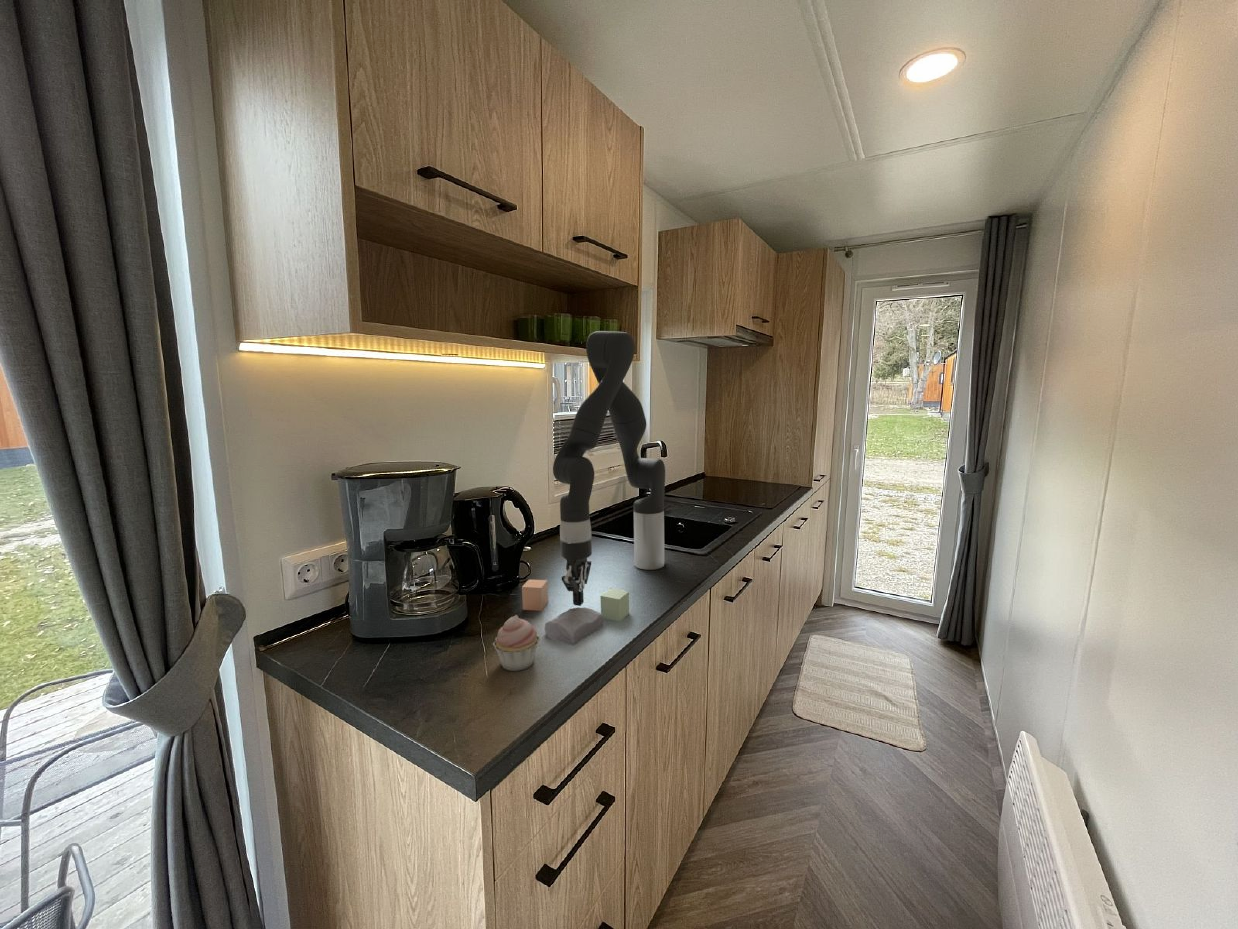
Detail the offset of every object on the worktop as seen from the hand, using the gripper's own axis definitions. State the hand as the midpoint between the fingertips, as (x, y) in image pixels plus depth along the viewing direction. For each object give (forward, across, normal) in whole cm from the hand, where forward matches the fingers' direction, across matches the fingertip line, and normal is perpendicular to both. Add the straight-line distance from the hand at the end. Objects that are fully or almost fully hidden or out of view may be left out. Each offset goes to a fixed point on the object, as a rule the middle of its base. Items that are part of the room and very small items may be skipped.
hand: (578, 604), depth 124 cm
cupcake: (+1, +27, -1) cm, 27 cm away
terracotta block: (+1, +2, -11) cm, 11 cm away
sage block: (+1, +1, +10) cm, 10 cm away
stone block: (+2, +10, +3) cm, 11 cm away
